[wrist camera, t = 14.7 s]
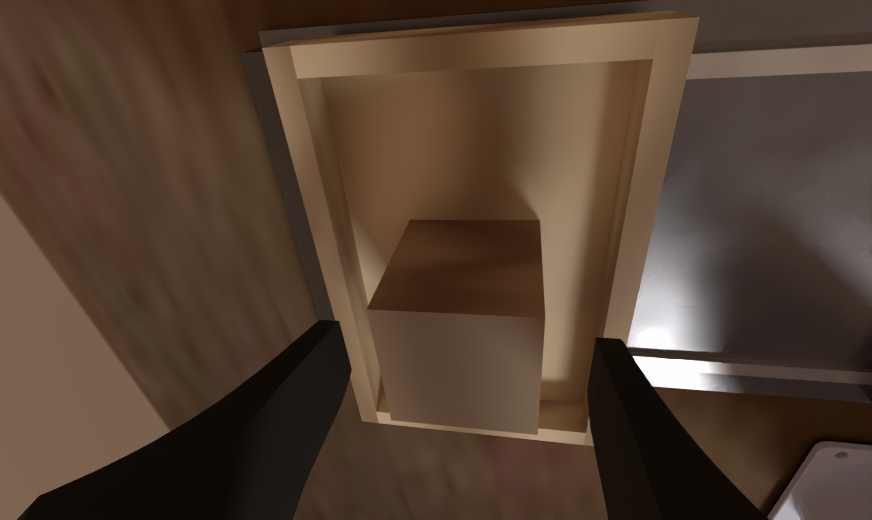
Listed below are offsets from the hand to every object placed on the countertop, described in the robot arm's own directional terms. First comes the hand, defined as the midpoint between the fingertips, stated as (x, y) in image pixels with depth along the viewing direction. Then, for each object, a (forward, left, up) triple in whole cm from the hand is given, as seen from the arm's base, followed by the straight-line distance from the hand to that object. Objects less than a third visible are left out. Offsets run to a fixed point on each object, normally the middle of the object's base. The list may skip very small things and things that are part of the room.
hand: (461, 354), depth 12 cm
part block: (0, 0, -4) cm, 4 cm away
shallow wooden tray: (0, 0, -6) cm, 6 cm away
